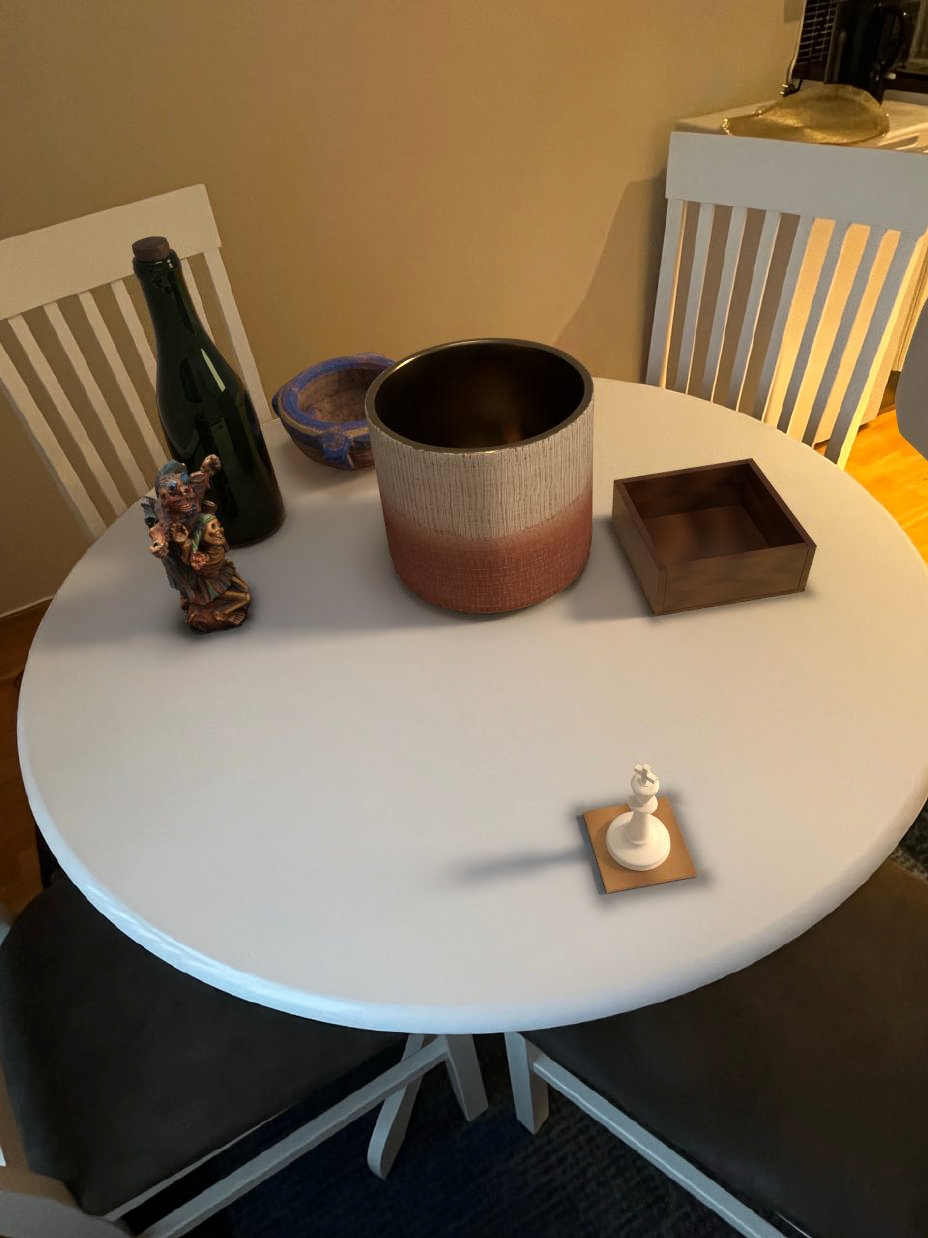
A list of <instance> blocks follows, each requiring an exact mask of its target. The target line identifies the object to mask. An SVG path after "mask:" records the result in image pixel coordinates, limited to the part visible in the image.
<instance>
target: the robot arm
mask: <svg viewBox="0 0 928 1238" xmlns="http://www.w3.org/2000/svg"><path fill="white" fill-rule="evenodd" d="M904 356H905V357H904V360H903V364H902V368H901V371H900V374H899V379H898V382H897V385H896V390H895V395H894V408H895V417H896V423H897V429H898V431H899V434H900V435H901V437H902V438H903V439H904V440H905V441H906V442H907V443H908V444H909V445H911V446H912V447H913V448H914V449H915V450H916V451H917V452H918V453H919V454H920V455H921V456H922V457H923V458H924V460H926V461H927V462H928V296H927V298H926V299H925V301H924V303H923V305H922V307H921V309H920V311H919V315H918V317H917V321H916V323H915V326H914V328H913V331H912V335H911V338H910V340H909V344H908V347H907V350H906V354H905V355H904Z"/></svg>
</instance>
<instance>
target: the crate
mask: <svg viewBox="0 0 928 1238" xmlns="http://www.w3.org/2000/svg"><path fill="white" fill-rule="evenodd" d="M612 485H613V486H612V504H611V505H612V506H611V520H610V521H611V526H612V528H613V530H614V531H615V534H616V536H617V539H618V540H619V542H620V545H621V547H622V549H623V551H624V553H625V555H626V558H627V560H628V562H629V564H630V566H631V568H632V570H633V572H634V575H635V577H636V579H637V581H638V583H639V585H640V588H641V590H642V592H643V595H644V596H645V599H646V601H647V603H648V605H649V607H650V610H651V611H652V613H653V616H654V617H658V616H664V615H669V614H675V613H682V612H686V611H687V612H688V611H692V610H699V609H705V608H710V607H717V606H722V605H729V604H734V603H740V602H747V601H753V600H758V599H763V598H770V597H776V596H782V595H783V596H784V595H789V594H794V593H801V592H805V591H806V587H807V583H808V580H809V576H810V572H811V570H812V566H813V562H814V558H815V556H816V555H815V554H816V550H817V547H818V545H817V543H816V542H815V541H814V539H813V538H812V537H811V536H810V534H809V533H808V532H807V530H806V529H805V527H804V526H803V525H802V523H801V521H799V520H798V517H796V515H795V514H794V513H793V511H792V510H791V509H790V507H789V506H788V504H787V503H786V502H785V500H784V498H782V495H780V493H779V492H778V490H777V489H776V488H775V486H774V485H773V484H772V482H771V481H770V480H769V478H768V477H767V476H766V474H765V473H764V472H763V471H762V469H761V468H760V466H759V465H758V464H757V462H756V460H755V459H754V458H753V457H749V458H744V459H743V458H742V459H738V460H737V459H736V460H731V461H725V462H718V463H711V464H706V465H705V464H704V465H700V466H692V467H687V468H679V469H674V470H669V471H662V472H656V473H655V472H654V473H650V474H643V475H637V476H631V477H630V476H629V477H624V478H618V479H617V478H616V479H613V483H612Z"/></svg>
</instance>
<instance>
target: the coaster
mask: <svg viewBox="0 0 928 1238" xmlns="http://www.w3.org/2000/svg"><path fill="white" fill-rule="evenodd" d="M656 799H657V803H658V805H657V808H656V810H655V811H654V812H653V813H652V814H650V815H652V816H654V817H656V818H657V819H658V820H660V821H661V822H662V823H663V825H664V826H665V827H666V829H667V831H668V834H669V838H670V851H669V854H668V856H667V858H666V860H665V861H664V862H663V863H662V864H661V865H659V866H658V867H656V868H654V869H651V870H646V871H637V870H632V869H628V868H626V867H624V866H622V865H620V864H619V863H618V862H616V861H615V860H614V859H613V857H612V856H611V855H610V853H609V851H608V849H607V845H606V835H607V831H608V829H609V826H610V824H611V823H612V822H613V820H614V819H615V818H617V817H618V816H620V815H621V814H624V813H627V812H632V810H631V809H630V807H629V805H628V803H627V804H621V805H615V806H608V807H604V808H599V809H592V810H588V811H587V810H586V811H583V812H582V815H583V819H584V822H585V825H586V829H587V832H588V835H589V839H590V842H591V845H592V849H593V853H594V856H595V859H596V862H597V866H598V868H599V872H600V875H601V879H602V882H603V886H604V889H605V893H606V894H610V893H614V892H615V893H617V892H621V891H626V890H631V889H637V888H642V887H647V886H652V885H658V884H663V883H670V882H675V881H680V880H687V879H691V878H697V876H698V873H697V870H696V869H695V866H694V863H693V860H692V858H691V855H690V852H689V850H688V846H687V845H686V842H685V840H684V839H685V838H684V836H683V834H682V832H681V829H680V827H679V824H678V822H677V819H676V817H675V814H674V811H673V808H672V807H671V803H670V801H669V798H668V797H667V796H665V797H659V798H656Z"/></svg>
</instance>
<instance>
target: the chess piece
mask: <svg viewBox="0 0 928 1238" xmlns="http://www.w3.org/2000/svg"><path fill="white" fill-rule="evenodd" d="M633 772H634V773H635V774H634V775H633V776H632V778H631V779H630V788H631V790H632V792H631V794H630V795H629V796H628V798H627V804H628V805H629V807H630V809H631V810H632V812H627V813H624V814H621V815H620V816H618V817H617V818H615V819H614V820H613V822H612V823H611V824H610V826H609V829H608V831H607V835H606V845H607V849H608V851H609V853H610V855H611V856H612V857H613V859H614V860H615V861H616V862H618V863H619V864H620V865H622V866H624V867H626V868H628V869H632V870H637V871H646V870H651V869H654V868H656V867H658V866H659V865H661V864H662V863H663V862H664V861H665V860H666V858H667V856H668V854H669V851H670V838H669V834H668V831H667V829H666V827H665V826H664V825H663V823H662V822H661V821H660V820H658V819H657V818H656V817H654V816H652V815H650V814H652V813H653V812H654V811H655V810H656V808H657V805H658V803H657V799H658V798H657V797H656V795H657V793H658V791H659V789H660V782H659V777H658V776H657V775H655V774H654V773H653V772H652V766H651V765H650V764H648V763H645V764H644V765H643V766H642V764H639V763H637V764H636V766H635V767H634V770H633Z"/></svg>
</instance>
